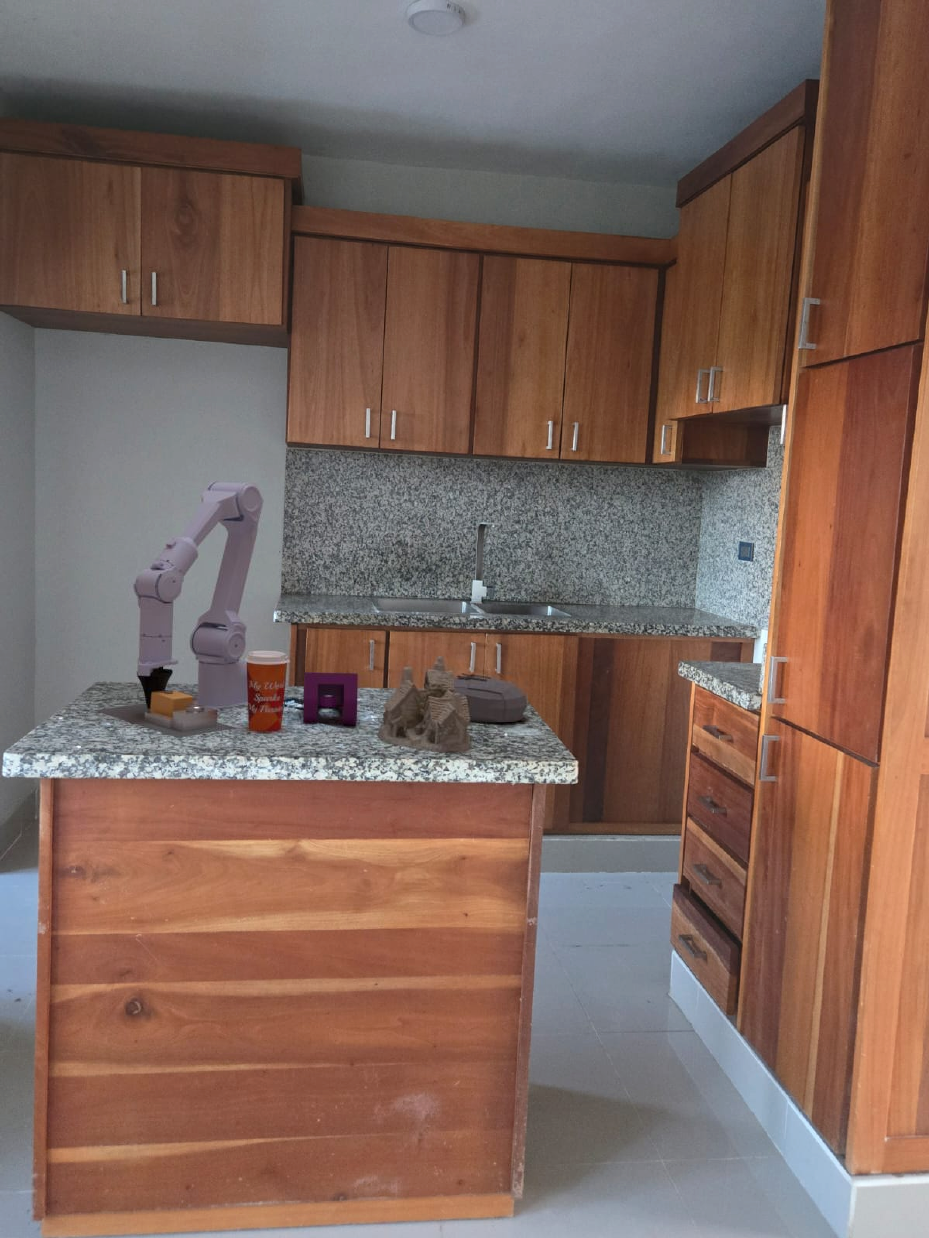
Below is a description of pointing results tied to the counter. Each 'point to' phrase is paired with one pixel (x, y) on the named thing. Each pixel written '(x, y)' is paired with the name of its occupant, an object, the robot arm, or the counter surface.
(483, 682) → the grey rounded bag
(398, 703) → the ceramic cottage
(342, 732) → the counter surface
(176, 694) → the block
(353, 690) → the mounting bracket
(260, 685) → the paper cup
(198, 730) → the mat
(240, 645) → the robot arm
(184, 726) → the sliding latch
